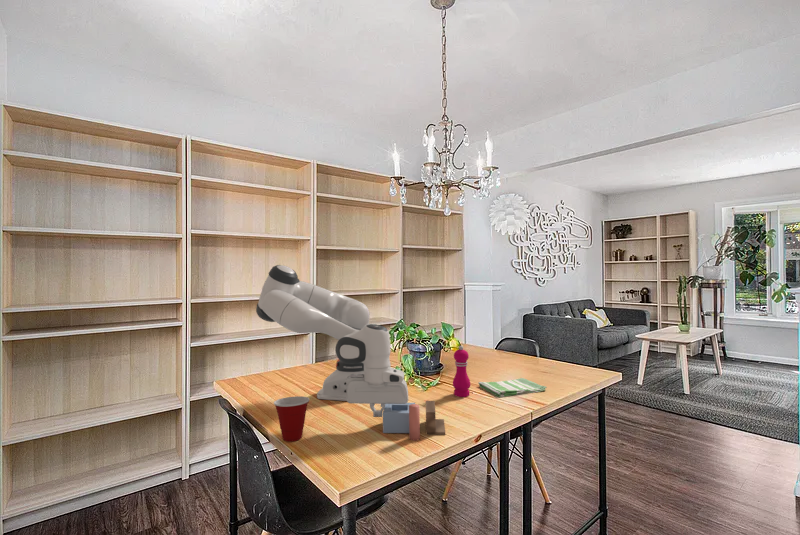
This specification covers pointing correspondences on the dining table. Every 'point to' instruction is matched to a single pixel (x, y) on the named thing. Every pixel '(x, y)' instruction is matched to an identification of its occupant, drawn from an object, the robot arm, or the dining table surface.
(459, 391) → the pepper mill
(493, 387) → the dish towel
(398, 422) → the blue-grey slotted block
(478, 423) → the dining table surface
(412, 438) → the dowel
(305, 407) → the plastic cup
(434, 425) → the brown l-shaped block
